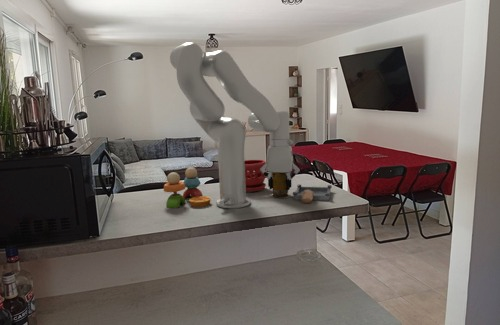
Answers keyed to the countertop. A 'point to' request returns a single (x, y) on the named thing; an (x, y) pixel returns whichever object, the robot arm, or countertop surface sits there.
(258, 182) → the plant pot
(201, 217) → the countertop surface
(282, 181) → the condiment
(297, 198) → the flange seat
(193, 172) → the wooden stacking toy
